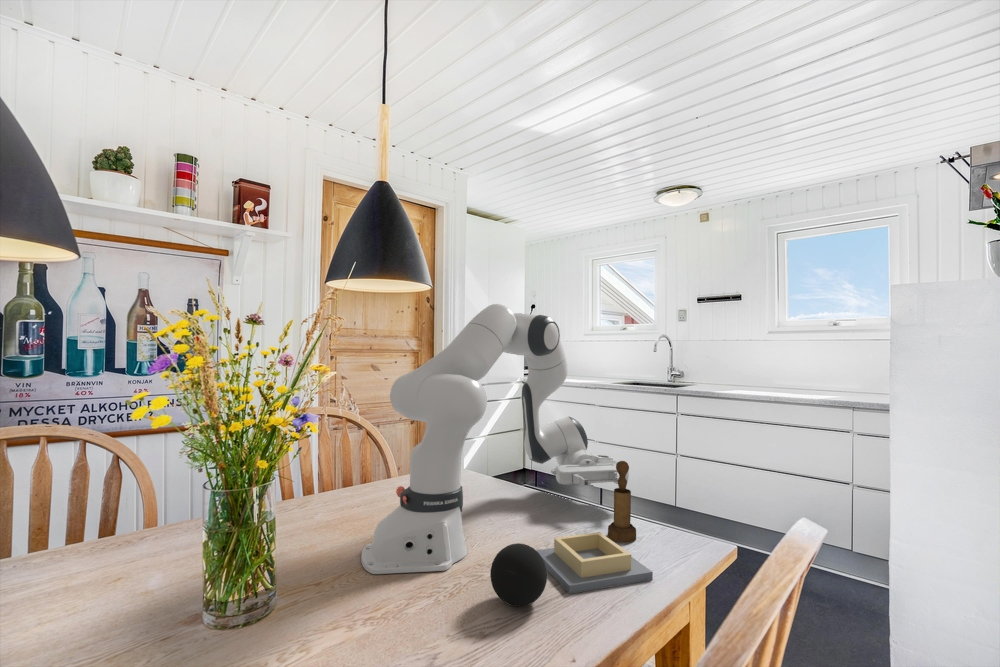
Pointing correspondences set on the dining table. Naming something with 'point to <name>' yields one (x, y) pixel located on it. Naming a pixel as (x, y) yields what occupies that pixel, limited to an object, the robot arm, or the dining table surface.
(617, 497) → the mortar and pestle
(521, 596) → the speaker
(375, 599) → the dining table surface
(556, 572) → the holder
